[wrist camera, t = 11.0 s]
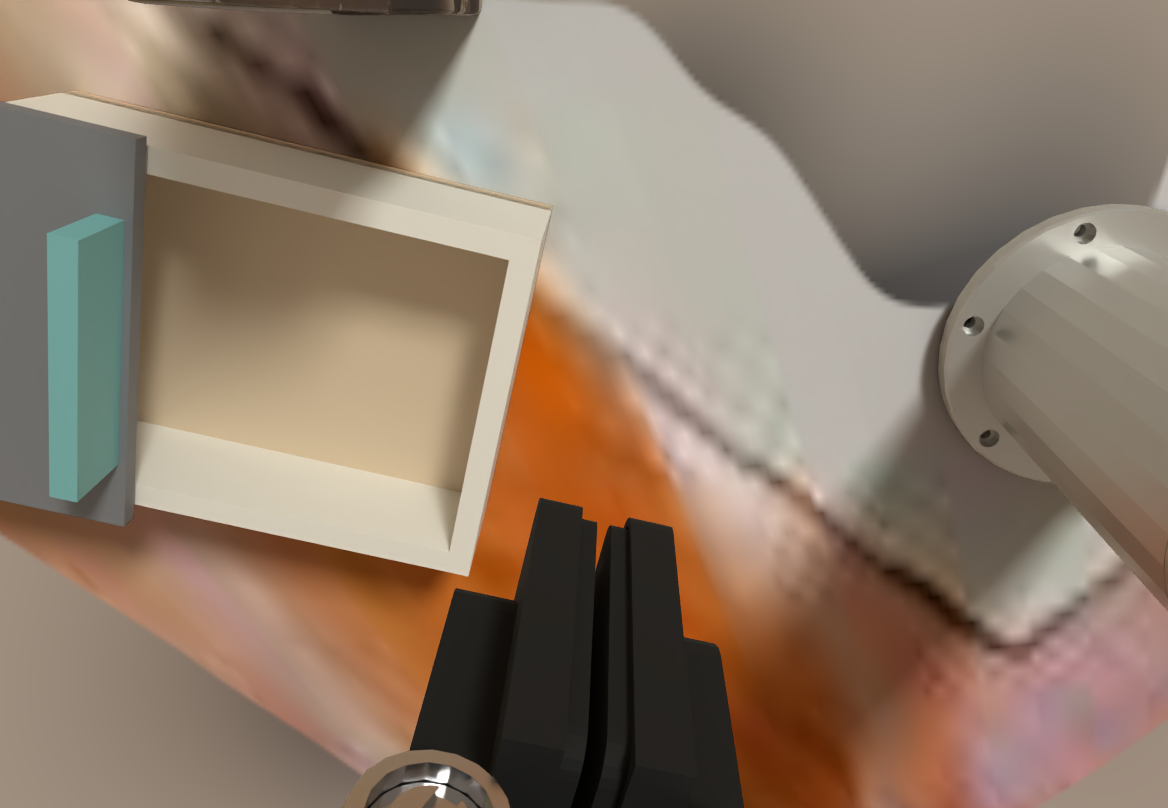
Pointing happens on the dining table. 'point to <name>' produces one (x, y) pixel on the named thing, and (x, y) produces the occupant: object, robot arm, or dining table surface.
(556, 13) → the dining table surface
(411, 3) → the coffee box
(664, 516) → the dining table surface
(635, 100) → the dining table surface
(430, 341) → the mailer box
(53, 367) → the lid
